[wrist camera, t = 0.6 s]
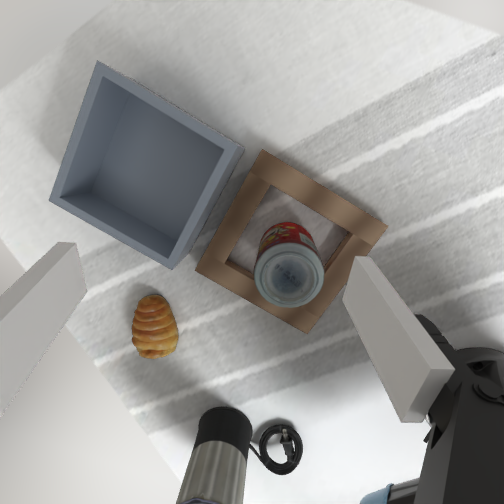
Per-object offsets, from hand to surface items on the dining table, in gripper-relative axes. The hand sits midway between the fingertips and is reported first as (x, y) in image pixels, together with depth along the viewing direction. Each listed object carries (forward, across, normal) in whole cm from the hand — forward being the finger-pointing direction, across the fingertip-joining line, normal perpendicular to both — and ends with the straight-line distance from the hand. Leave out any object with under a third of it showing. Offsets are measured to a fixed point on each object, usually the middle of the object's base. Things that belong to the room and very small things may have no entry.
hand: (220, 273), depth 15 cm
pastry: (+23, +10, +26) cm, 36 cm away
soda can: (+24, -8, +11) cm, 27 cm away
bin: (+28, +9, +3) cm, 29 cm away
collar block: (+23, -8, +11) cm, 27 cm away
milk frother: (+17, -6, +43) cm, 47 cm away
